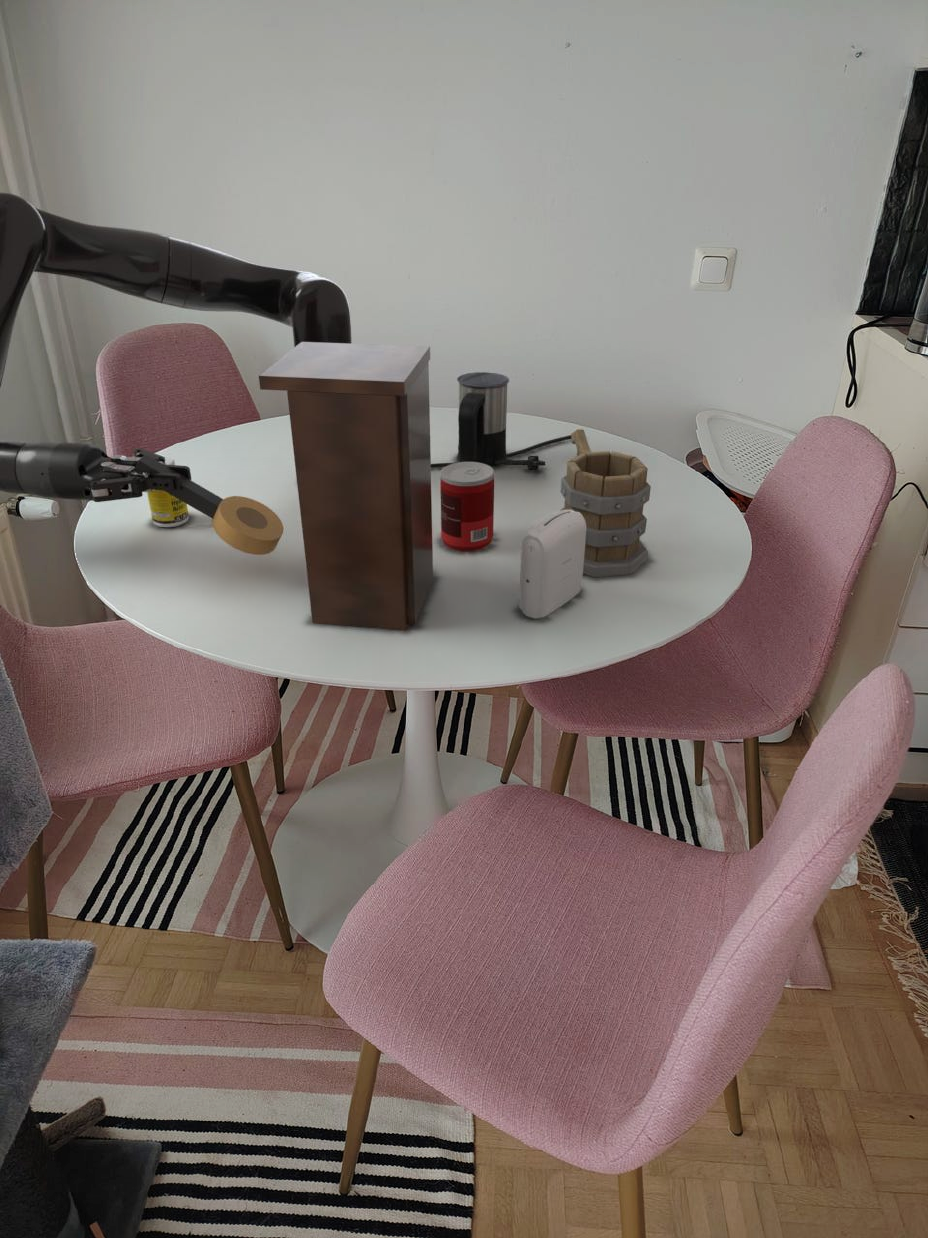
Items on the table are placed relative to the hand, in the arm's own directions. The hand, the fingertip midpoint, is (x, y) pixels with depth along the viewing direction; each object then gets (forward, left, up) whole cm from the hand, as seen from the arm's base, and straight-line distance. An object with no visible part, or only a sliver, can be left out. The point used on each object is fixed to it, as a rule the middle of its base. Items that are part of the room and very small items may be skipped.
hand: (184, 478), depth 113 cm
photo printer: (-33, +36, -14) cm, 51 cm away
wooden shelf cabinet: (-15, +20, -14) cm, 28 cm away
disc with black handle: (-2, +2, -4) cm, 5 cm away
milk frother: (-58, -6, -14) cm, 60 cm away
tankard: (-49, +27, -14) cm, 58 cm away
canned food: (-35, +15, -14) cm, 41 cm away
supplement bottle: (-2, -18, -14) cm, 23 cm away
